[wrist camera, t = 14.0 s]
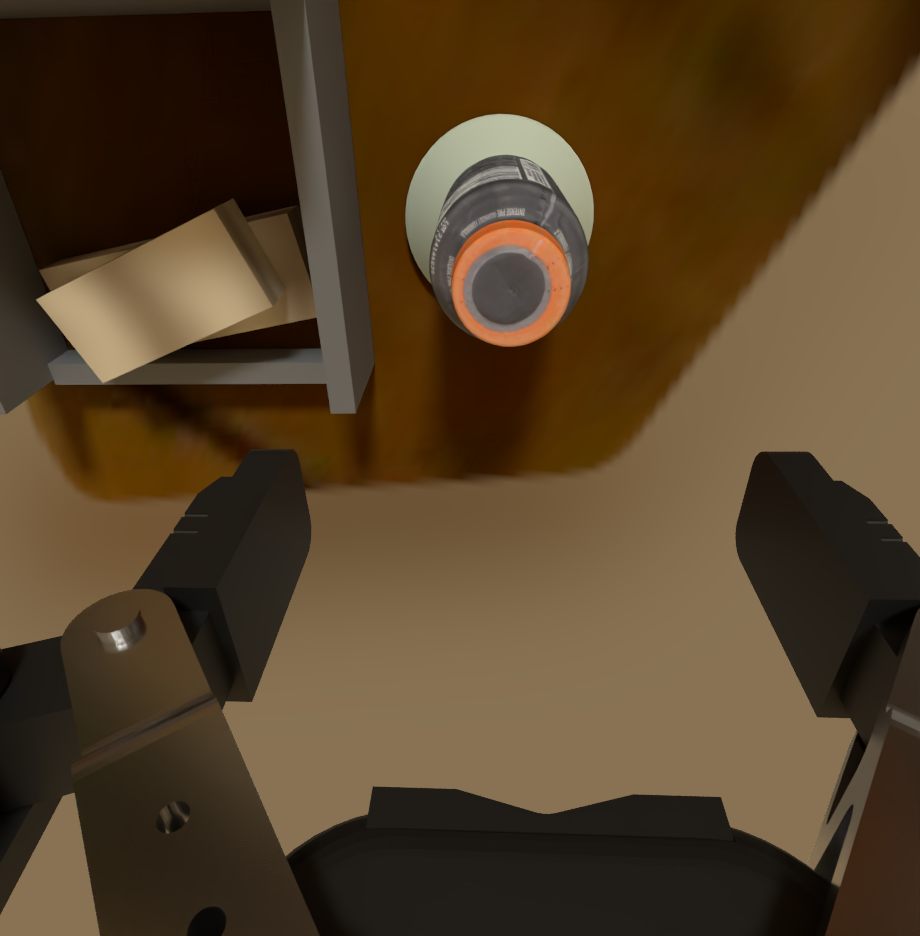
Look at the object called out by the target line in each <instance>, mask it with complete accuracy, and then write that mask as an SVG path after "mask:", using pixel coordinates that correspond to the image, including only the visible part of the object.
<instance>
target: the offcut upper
mask: <svg viewBox="0 0 920 936" xmlns="http://www.w3.org/2000/svg"><path fill="white" fill-rule="evenodd" d="M285 292H286V288H285V286H284V285H283V283H282V281H281V279H280V278H279V276H278V274H277V272H276V271H275V269H274V267H273V266H272V264H271V262H270V260H269V259H268V257H267V255H266V254H265V252H264V250H263V248H262V247H261V245H260V243H259V242H258V240H257V238H256V236H255V235H254V233H253V231H252V229H251V228H250V226H249V224H248V223H247V221H246V219H245V217H244V216H243V214H242V212H241V210H240V209H239V207H238V205H237V204H236V202H235V200H234V198H233V199H231V200H229V201H227V202H225V203H223V204H221V205H219V206H217V207H215V208H213V209H211V210H209V211H207V212H205V213H203V214H201V215H199V216H197V217H195V218H193V219H191V220H189V221H187V222H185V223H184V224H182V225H180V226H178V227H176V228H174V229H172V230H170V231H168V232H166V233H164V234H162V235H160V236H158V237H156V238H154V239H152V240H150V241H148V242H146V243H144V244H142V245H140V246H138V247H136V248H135V249H133V250H131V251H129V252H127V253H125V254H123V255H121V256H119V257H117V258H115V259H113V260H111V261H109V262H107V263H105V264H103V265H101V266H99V267H97V268H95V269H93V270H91V271H89V272H88V273H86V274H84V275H82V276H80V277H78V278H76V279H74V280H72V281H70V282H68V283H66V284H64V285H62V286H60V287H58V288H57V289H55V290H53V291H51V292H49V293H47V294H45V295H43V296H42V297H40V298H38V299H36V300H37V302H38V303H39V304H40V305H41V307H42V308H43V309H44V310H45V311H46V313H47V314H48V315H49V316H50V318H51V319H52V320H53V321H54V323H55V324H56V325H57V326H58V328H59V329H60V330H61V331H62V333H63V334H64V335H65V336H66V338H67V339H68V340H69V341H70V343H71V344H72V345H73V346H74V348H75V349H76V350H77V351H78V353H79V354H80V355H81V356H82V358H83V359H84V360H85V361H86V363H87V364H88V365H89V366H90V368H91V369H92V370H93V371H94V373H95V374H96V375H97V376H98V378H99V379H100V380H101V381H102V383H105V382H107V381H109V380H111V379H114V378H116V377H118V376H120V375H122V374H125V373H127V372H129V371H131V370H134V369H136V368H138V367H140V366H142V365H145V364H147V363H149V362H151V361H153V360H156V359H158V358H160V357H162V356H164V355H167V354H169V353H171V352H173V351H176V350H178V349H180V348H182V347H184V346H187V345H189V344H191V343H193V342H195V341H198V340H200V339H202V338H204V337H206V336H209V335H211V334H213V333H215V332H218V331H220V330H222V329H224V328H226V327H229V326H231V325H233V324H235V323H237V322H240V321H242V320H244V319H246V318H248V317H251V316H253V315H255V314H257V313H260V312H262V311H264V310H266V309H268V308H271V307H273V306H274V304H275V303H276V302H277V301H278V300H279V299H280V297H281V296H282V295H283V294H284V293H285Z"/></svg>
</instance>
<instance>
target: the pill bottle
mask: <svg viewBox="0 0 920 936" xmlns="http://www.w3.org/2000/svg"><path fill="white" fill-rule="evenodd" d="M588 266H589V255H588V244H587V240H586V236H585V233H584V230H583V228H582V225H581V223H580V221H579V219H578V217H577V216H576V214H575V212H574V211H573V209H572V207H571V206H570V204H569V203H568V201H567V200H566V198H565V196H564V195H563V193H562V192H561V190H560V189H559V187H558V186H557V184H556V183H555V181H554V180H553V178H552V177H551V176H550V175H549V174H548V173H547V171H545V170H544V169H543V168H541V167H540V166H539V165H537V164H536V163H534V162H533V161H531V160H529V159H526V158H524V157H519V156H515V155H497V156H491V157H488V158H485V159H483V160H481V161H479V162H477V163H475V164H473V165H471V166H470V167H468V168H467V169H466V170H465V171H464V172H463V173H462V174H461V175H460V176H459V177H458V178H457V179H456V180H455V182H454V183H453V185H452V186H451V188H450V190H449V192H448V194H447V196H446V199H445V201H444V204H443V207H442V209H441V213H440V216H439V219H438V223H437V226H436V231H435V234H434V238H433V241H432V244H431V249H430V258H429V273H430V279H431V284H432V288H433V291H434V294H435V297H436V299H437V301H438V303H439V305H440V306H441V308H442V310H443V311H444V313H445V314H446V315H447V316H448V317H449V319H450V320H451V321H452V322H453V323H454V324H455V325H456V326H457V327H459V328H460V329H462V330H463V331H465V332H466V333H468V334H469V335H471V336H473V337H475V338H478V339H480V340H483V341H485V342H487V343H490V344H493V345H498V346H503V347H514V346H522V345H526V344H529V343H532V342H534V341H536V340H538V339H540V338H542V337H543V336H545V335H546V334H547V333H549V332H550V331H551V330H552V329H553V328H555V327H556V326H557V325H558V324H560V323H561V322H562V321H563V320H564V319H565V318H566V317H567V316H568V315H569V313H570V312H571V311H572V309H573V308H574V306H575V305H576V303H577V302H578V300H579V298H580V296H581V293H582V291H583V288H584V286H585V282H586V278H587V273H588Z"/></svg>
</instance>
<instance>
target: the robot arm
mask: <svg viewBox="0 0 920 936" xmlns="http://www.w3.org/2000/svg"><path fill="white" fill-rule="evenodd" d="M887 521H888V520H887V519H886V517H885V516H884V515H883V514H882V513H881V512H880V510H879V509H878V508H877V507H876V506H875V505H874V504H873V502H872V501H871V500H870V499H869V498H867V497H866V496H864V495H863V494H861V493H860V492H858V491H856V490H855V489H853V488H852V487H850V486H849V485H847V484H846V483H844V482H842V481H833V480H832V478H831V477H830V476H829V475H828V473H827V472H826V471H825V470H824V469H823V467H822V466H821V465H820V463H819V462H818V461H817V460H816V459H815V457H814V456H813V455H812V454H811V453H809V452H760V453H759V454H758V455H757V456H756V458H755V460H754V462H753V465H752V469H751V472H750V476H749V480H748V484H747V488H746V491H745V495H744V499H743V503H742V506H741V510H740V514H739V517H738V521H737V526H736V547H737V553H738V556H739V559H740V561H741V563H742V565H743V567H744V569H745V571H746V573H747V575H748V577H749V579H750V581H751V584H752V585H753V588H754V589H755V592H756V594H757V596H758V598H759V600H760V602H761V604H762V606H763V608H764V610H765V612H766V614H767V616H768V618H769V620H770V622H771V624H772V626H773V628H774V630H775V632H776V634H777V636H778V638H779V640H780V642H781V644H782V647H783V649H784V651H785V652H786V655H787V656H788V659H789V661H790V662H791V665H792V667H793V669H794V671H795V673H796V675H797V677H798V679H799V681H800V683H801V685H802V687H803V689H804V691H805V693H806V695H807V697H808V699H809V701H810V703H811V705H812V707H813V709H814V712H815V714H816V716H817V717H828V718H831V717H832V718H851V720H852V722H853V724H854V726H855V728H856V730H857V731H856V733H855V735H854V737H853V739H852V741H851V743H850V745H849V748H848V751H847V754H846V757H845V759H844V762H843V765H842V768H841V771H840V774H839V777H838V779H837V782H836V785H835V788H834V791H833V794H832V797H831V799H830V802H829V805H828V808H827V811H826V814H825V817H824V820H823V822H822V825H821V828H820V831H819V834H818V837H817V839H816V842H815V845H814V847H813V849H812V852H811V854H810V856H809V859H808V861H807V863H806V864H804V863H803V862H801V861H800V860H798V859H797V858H795V857H794V856H792V855H791V854H789V853H787V852H786V851H784V850H782V849H780V848H778V847H776V846H775V845H773V844H771V843H769V842H767V841H765V840H763V839H760V838H758V837H756V836H753V835H751V834H748V833H745V832H743V831H741V830H738V829H734V828H731V827H730V825H729V822H728V819H727V816H726V812H725V809H724V806H723V803H722V799H721V797H699V796H664V795H630V796H625V797H621V798H617V799H613V800H609V801H605V802H600V803H596V804H592V805H588V806H584V807H579V808H575V809H571V810H567V811H563V812H558V813H554V814H541V813H536V812H532V811H529V810H525V809H522V808H519V807H515V806H512V805H508V804H505V803H502V802H498V801H495V800H492V799H488V798H485V797H481V796H478V795H475V794H471V793H468V792H464V791H461V790H458V789H433V788H400V787H373V789H372V795H371V801H370V807H369V813H368V815H364V816H360V817H356V818H353V819H351V820H348V821H345V822H343V823H340V824H337V825H335V826H333V827H331V828H329V829H327V830H325V831H323V832H321V833H319V834H317V835H315V836H313V837H312V838H311V839H309V840H308V841H306V842H304V843H303V844H301V845H300V846H298V847H297V848H295V849H294V850H293V851H292V852H290V853H289V854H288V855H287V856H286V857H285V854H284V852H283V850H282V848H281V845H280V843H279V841H278V838H277V836H276V834H275V831H274V829H273V827H272V824H271V822H270V820H269V817H268V815H267V813H266V811H265V808H264V806H263V804H262V801H261V799H260V797H259V794H258V792H257V790H256V788H255V785H254V783H253V781H252V778H251V776H250V774H249V771H248V769H247V767H246V765H245V762H244V760H243V758H242V755H241V753H240V751H239V748H238V746H237V744H236V741H235V739H234V737H233V735H232V732H231V730H230V728H229V725H228V723H227V721H226V719H225V716H224V714H223V712H222V709H223V707H224V705H225V702H226V701H241V702H243V701H244V702H252V700H253V697H254V695H255V692H256V690H257V687H258V684H259V682H260V679H261V677H262V674H263V671H264V668H265V666H266V663H267V661H268V658H269V655H270V653H271V650H272V648H273V645H274V642H275V639H276V637H277V634H278V632H279V629H280V626H281V624H282V621H283V618H284V616H285V613H286V610H287V608H288V605H289V602H290V600H291V597H292V595H293V592H294V589H295V587H296V584H297V581H298V579H299V576H300V574H301V571H302V568H303V566H304V563H305V560H306V558H307V555H308V552H309V548H310V542H311V521H310V514H309V509H308V504H307V499H306V493H305V488H304V483H303V478H302V473H301V467H300V462H299V458H298V455H297V453H296V452H295V451H294V450H289V449H252V450H250V451H249V452H248V453H247V455H246V456H245V458H244V459H243V461H242V463H241V464H240V466H239V467H238V469H237V470H236V472H235V474H234V475H233V477H220V478H219V479H217V480H216V481H215V482H213V483H212V484H211V485H209V486H208V487H206V488H205V489H204V490H202V491H201V492H200V493H198V494H197V496H196V497H195V499H194V500H193V502H192V503H191V505H190V506H189V508H188V509H187V510H186V512H185V517H182V518H181V519H180V521H179V522H178V524H177V525H176V526H175V528H174V533H173V534H170V535H169V537H168V538H167V540H166V541H165V542H164V544H163V545H162V547H161V548H160V550H159V551H158V553H157V554H156V556H155V557H154V559H153V560H152V561H151V563H150V565H149V566H148V567H147V569H146V570H145V572H144V573H143V575H142V576H141V577H140V579H139V580H138V582H137V584H136V585H135V586H134V588H133V589H132V590H128V591H123V592H119V593H116V594H113V595H110V596H108V597H106V598H103V599H101V600H99V601H97V602H96V603H94V604H92V605H91V606H89V607H87V608H86V609H85V610H83V611H82V612H81V613H80V614H78V615H77V616H76V617H75V618H74V620H72V622H71V623H70V624H69V625H68V627H67V628H66V630H65V632H64V634H63V636H59V637H55V638H50V639H46V640H42V641H37V642H33V643H28V644H23V645H19V646H15V647H10V648H5V649H0V914H1V912H2V910H3V908H4V907H5V905H6V903H7V901H8V899H9V897H10V895H11V893H12V891H13V889H14V888H15V886H16V884H17V882H18V880H19V878H20V876H21V874H22V872H23V870H24V869H25V867H26V864H27V863H28V861H29V859H30V857H31V855H32V853H33V851H34V849H35V848H36V846H37V844H38V842H39V840H40V838H41V836H42V834H43V832H44V831H45V829H46V827H47V825H48V823H49V821H50V819H51V817H52V815H53V813H54V812H55V809H56V807H57V806H58V804H59V802H60V800H61V798H62V796H64V795H67V794H71V793H75V798H76V804H77V809H78V815H79V821H80V826H81V831H82V838H83V843H84V849H85V854H86V860H87V866H88V871H89V877H90V882H91V888H92V894H93V899H94V904H95V911H96V916H97V922H98V928H99V933H100V936H920V557H919V556H918V555H917V554H916V552H915V551H914V550H913V549H912V548H911V547H910V545H909V544H908V543H907V542H903V540H902V538H903V537H902V536H901V535H900V534H899V533H898V531H897V530H896V529H895V528H894V527H893V526H892V524H888V523H887Z"/></svg>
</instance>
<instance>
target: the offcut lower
mask: <svg viewBox="0 0 920 936" xmlns="http://www.w3.org/2000/svg"><path fill="white" fill-rule="evenodd" d="M245 219H246V221H247V223H248V224H249V226H250V228H251V229H252V231H253V233H254V235H255V236H256V238H257V240H258V242H259V243H260V245H261V247H262V248H263V250H264V252H265V254H266V255H267V257H268V259H269V260H270V262H271V264H272V266H273V267H274V269H275V271H276V272H277V274H278V276H279V278H280V279H281V281H282V283H283V285H284V286H285V288H286V292H285V293H284V294H283V295H282V296H281V297H280V299H279V300H278V301H277V302H276V303H275V304H274V306H273V307H271V308H268V309H266V310H264V311H262V312H260V313H257V314H255V315H253V316H251V317H248V318H246V319H244V320H242V321H240V322H237V323H235V324H233V325H231V326H229V327H226V328H224V329H222V330H220V331H218V332H215V333H213V334H211V335H209V336H206V337H204V338H202V339H200V340H198V341H203V340H208V339H213V338H218V337H223V336H228V335H233V334H238V333H242V332H247V331H252V330H257V329H262V328H267V327H272V326H277V325H282V324H287V323H292V322H297V321H301V320H306V319H311V318H316V317H317V316H316V309H315V302H314V296H313V289H312V282H311V275H310V269H309V262H308V255H307V248H306V241H305V235H304V228H303V221H302V215H301V212H300V209H299V206H298V205H296V206H291V207H287V208H283V209H278V210H274V211H270V212H265V213H261V214H257V215H252V216H248V217H245ZM153 239H154V238H153ZM150 240H152V239H149V240H144V241H140V242H136V243H131V244H127V245H123V246H118V247H114V248H110V249H105V250H101V251H97V252H92V253H88V254H84V255H79V256H75V257H71V258H66V259H62V260H60V261H58V262H56V263H53V264H51V265H49V266H47V267H45V268H43V269H41V270H39V272H40V273H41V275H42V277H43V279H44V280H45V282H46V284H47V286H48V288H49V289H50V291H53V290H55V289H57V288H58V287H60V286H62V285H64V284H66V283H68V282H70V281H72V280H74V279H76V278H78V277H80V276H82V275H84V274H86V273H88V272H89V271H91V270H93V269H95V268H97V267H99V266H101V265H103V264H105V263H107V262H109V261H111V260H113V259H115V258H117V257H119V256H121V255H123V254H125V253H127V252H129V251H131V250H133V249H135V248H136V247H138V246H140V245H142V244H144V243H146V242H148V241H150ZM198 341H195V342H198Z"/></svg>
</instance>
